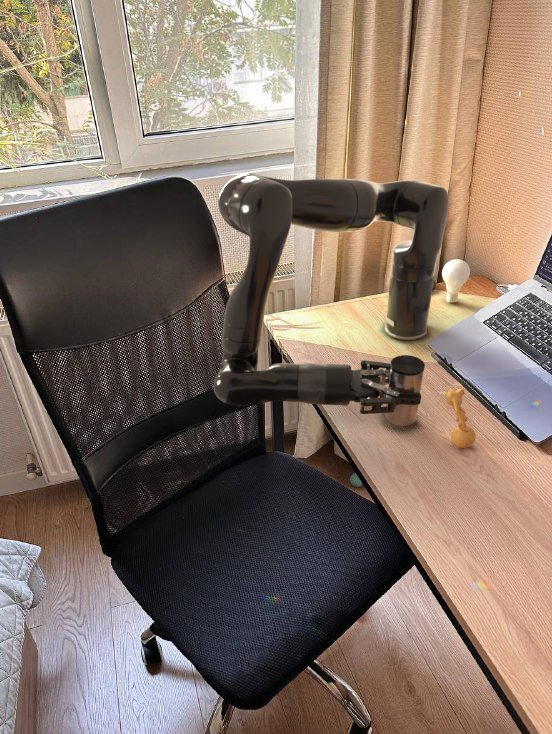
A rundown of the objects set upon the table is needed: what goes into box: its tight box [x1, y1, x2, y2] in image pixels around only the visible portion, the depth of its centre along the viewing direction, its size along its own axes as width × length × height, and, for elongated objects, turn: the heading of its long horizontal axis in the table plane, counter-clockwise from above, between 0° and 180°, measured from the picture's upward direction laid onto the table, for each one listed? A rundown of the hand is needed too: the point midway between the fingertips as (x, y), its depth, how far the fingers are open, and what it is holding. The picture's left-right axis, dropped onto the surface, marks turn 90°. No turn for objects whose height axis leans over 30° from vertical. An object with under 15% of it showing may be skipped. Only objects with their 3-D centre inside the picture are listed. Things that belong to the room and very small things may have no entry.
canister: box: [384, 354, 426, 427], centre depth 105 cm, size 6×6×12 cm
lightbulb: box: [441, 258, 471, 304], centre depth 142 cm, size 6×6×11 cm
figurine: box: [445, 388, 477, 449], centre depth 99 cm, size 8×6×12 cm
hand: (418, 388), depth 104 cm, fingers closed on canister, 5 cm apart
